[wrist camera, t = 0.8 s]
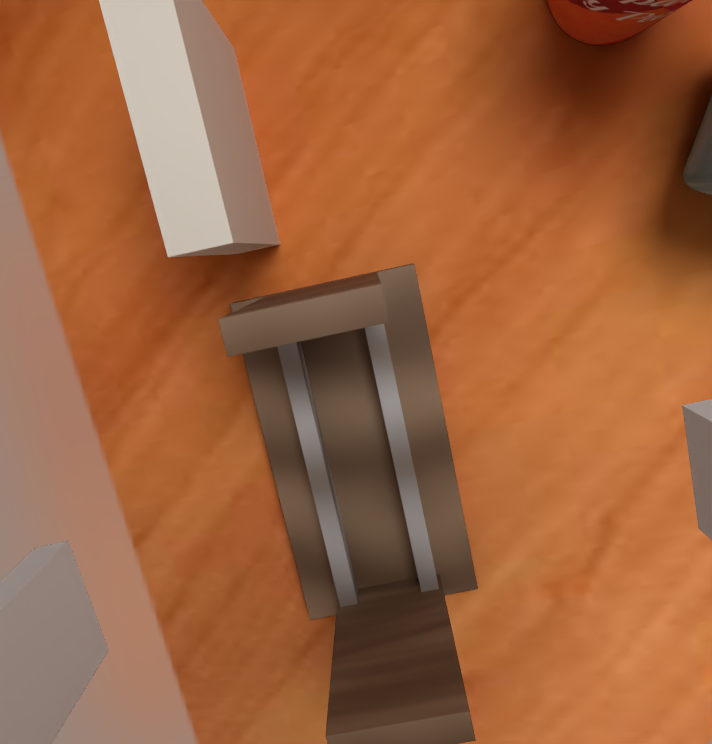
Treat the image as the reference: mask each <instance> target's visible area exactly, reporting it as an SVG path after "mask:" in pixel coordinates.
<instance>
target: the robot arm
mask: <svg viewBox="0 0 712 744" xmlns="http://www.w3.org/2000/svg"><path fill="white" fill-rule="evenodd" d="M682 407H683V415H684V422H685V430H686V437H687V445H688V452H689V460H690V467H691V475H692V482H693V490H694V497H695V505H696V512H697V520H698V527H699V529H700V530H701V531H702V532H703V533H704V534H706V535H707V536H708V537H709V538H710V539H711V540H712V399H709V400H705V401H700V402H696V403H691V404H686V405H682ZM108 650H109V649H108V647H107V644H106V642H105V639H104V636H103V633H102V630H101V628H100V625H99V623H98V620H97V617H96V614H95V612H94V609H93V606H92V604H91V601H90V598H89V596H88V593H87V590H86V587H85V585H84V582H83V579H82V577H81V574H80V571H79V568H78V566H77V563H76V560H75V558H74V555H73V552H72V550H71V547H70V544H69V542H68V541H64V542H60V543H55V544H50V545H46V546H42V547H37V548H34V549H33V550H32V551H31V552H30V553H29V554H28V555H27V556H26V557H25V558H24V559H23V560H22V561H21V562H20V563H19V564H18V565H16V566H15V567H14V568H13V569H12V570H11V571H10V572H9V573H8V574H7V575H6V576H5V577H4V578H3V579H2V580H1V581H0V744H52V742H53V740H54V739H55V737H56V735H57V734H58V732H59V730H60V729H61V727H62V726H63V724H64V722H65V720H66V719H67V717H68V716H69V714H70V713H71V711H72V709H73V708H74V706H75V704H76V703H77V701H78V700H79V698H80V696H81V695H82V693H83V691H84V690H85V688H86V687H87V685H88V683H89V682H90V680H91V678H92V677H93V675H94V673H95V672H96V670H97V669H98V667H99V665H100V664H101V662H102V660H103V659H104V657H105V656H106V654H107V652H108Z"/></svg>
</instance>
